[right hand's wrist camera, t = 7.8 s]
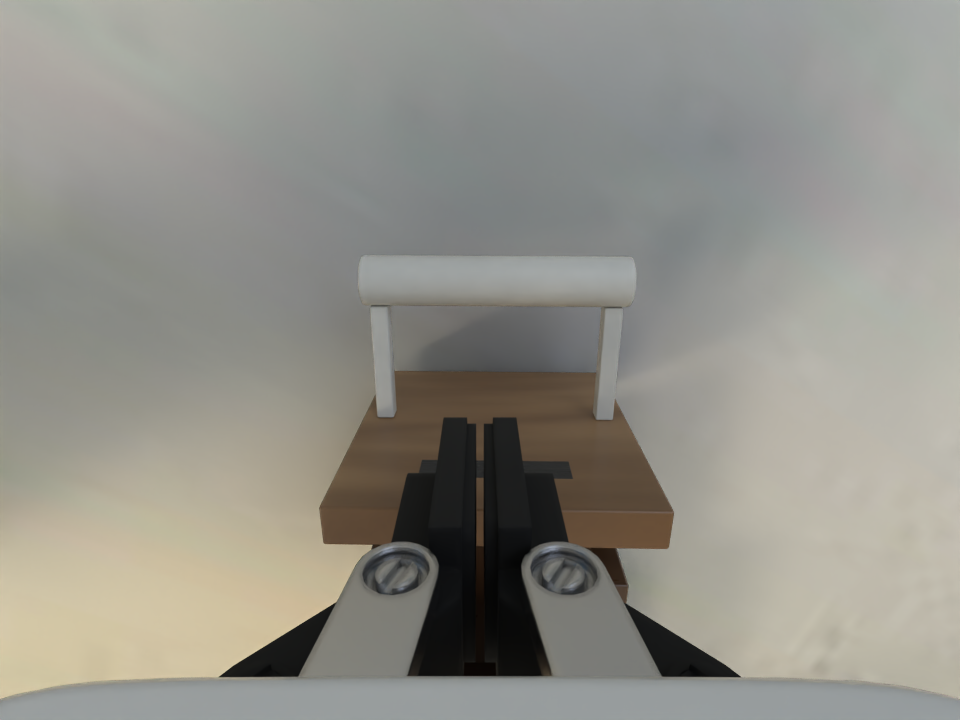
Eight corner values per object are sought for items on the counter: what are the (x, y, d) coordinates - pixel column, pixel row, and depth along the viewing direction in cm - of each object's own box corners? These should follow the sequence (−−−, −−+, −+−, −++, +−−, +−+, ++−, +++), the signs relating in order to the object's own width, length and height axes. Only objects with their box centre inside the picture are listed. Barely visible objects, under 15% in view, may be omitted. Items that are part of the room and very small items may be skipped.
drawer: (378, 237, 21) (292, 295, 12) (613, 238, 21) (707, 298, 12) (404, 652, 29) (363, 882, 20) (577, 655, 28) (618, 888, 19)
